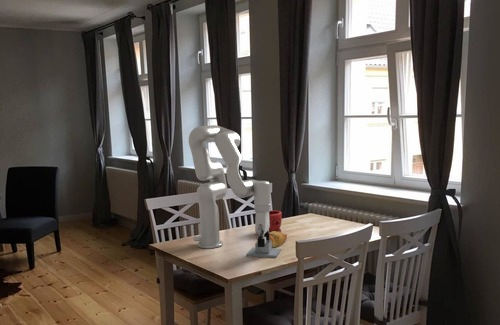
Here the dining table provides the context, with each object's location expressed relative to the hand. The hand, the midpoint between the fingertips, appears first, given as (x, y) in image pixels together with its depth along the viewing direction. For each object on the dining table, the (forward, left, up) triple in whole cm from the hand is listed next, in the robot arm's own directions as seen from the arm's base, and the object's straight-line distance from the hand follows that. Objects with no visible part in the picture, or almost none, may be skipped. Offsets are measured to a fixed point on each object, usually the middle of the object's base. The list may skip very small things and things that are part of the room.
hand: (263, 243), depth 212 cm
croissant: (+1, +16, -5) cm, 17 cm away
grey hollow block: (0, 0, -4) cm, 4 cm away
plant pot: (-5, +35, -5) cm, 36 cm away
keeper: (0, 0, -4) cm, 4 cm away
